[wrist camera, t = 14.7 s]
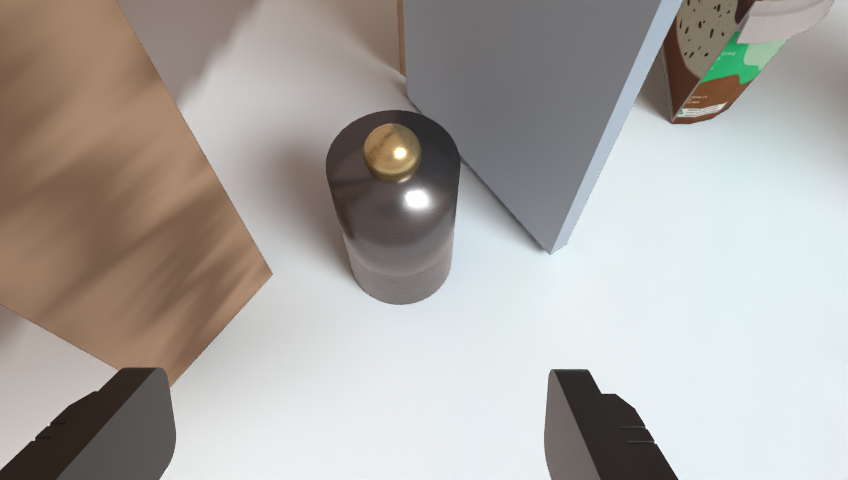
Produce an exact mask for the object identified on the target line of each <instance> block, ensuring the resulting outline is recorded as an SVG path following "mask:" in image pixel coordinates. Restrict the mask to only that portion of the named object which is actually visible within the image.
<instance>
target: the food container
mask: <svg viewBox="0 0 848 480" xmlns="http://www.w3.org/2000/svg"><path fill="white" fill-rule="evenodd" d="M833 2H834V0H683V1H682V3H681V5H680V7H679V10H678V12H677V14H676V16H675V18H674V20H673V22H672V24H671V26H670V28H669V30H668V33H667V35H666V37H665V39H664V41H663V43H662V45H661V54H662V61H663V68H664V75H665V82H666V89H667V97H668V104H669V111H670V118H671V124H692V123H696V122H701V121H705V120H709V119H712V118H714V117H715V116H717V115H719V114H720V113H722V112H724V111H725V110H727V109H728V108H729V107H730V106H731V105H732V104H733V102H734V101H735V100H736V99H737V98H738V97H739V95H740V94H741V93H742V92H743V91H744V90H745V89H746V87H747V86H748V85H749V84H750V83H751V82H752V80H753V79H754V78H755V77H756V76H757V75H758V73H759V72H760V71H761V70H762V69H763V68H764V67H765V65H766V64H767V63H768V62H769V61H770V60H771V58H772V57H773V56H774V55H775V54H776V53H777V52H778V50H779V49H780V48H781V47H782V46H783V45H784V43H785V42H786V41H787V40H788V39H789V38H790V37H793V36H795V35H797V34H800V33H802V32H805V31H806V30H808V29H810V28H811V27H813V26H814V25H816V24H817V23H818V22H819V21H820V20H821V19H822V18H823V17H824V16H825V15H826V14H827V12H828V11H829V9H830V8H831V6H832V4H833Z"/></svg>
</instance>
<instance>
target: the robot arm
mask: <svg viewBox="0 0 848 480" xmlns="http://www.w3.org/2000/svg"><path fill="white" fill-rule="evenodd" d="M175 443H176V429H175V423H174V416H173V409H172V402H171V395H170V389H169V382H168V376H167V373H166V371H165V370H164V369H163V368H160V367H125V368H122V369H121V370H119V371H118V372H117V373H116V374H115V375H114V376H113V377H112V378H111V379H110V380H109V381H108V382H107V383H106V384H105V385H104V386H103V387H102V388H101V389H100V390H99V391H94V392H92V393H90V394H89V395H87V396H85V397H83V398H82V399H80V400H78V401H76V402H75V403H73V404H71V405H69V406H68V407H67V408H66V409H65V410H64V411H63V412H62V413H61V414H59V415H58V416H57V417H56V418H55V419H54V420H53V421H52V422H51V423H50V426H47V427H46V428H45V429H44V430H43V431H41V432H40V433H39V434H38V435H37V436H36V437H35V441H31V442H30V443H29V444H28V445H27V446H26V447H25V448H24V449H22V450H21V451H20V452H19V453H18V454H17V455H16V456H15V457H14V458H13V459H12V460H11V461H10V462H9V463H8V464H7V465H6V466H4V467H3V468H2V469H1V470H0V480H159V479H160V477H161V476H162V474H163V473H164V471H165V470H166V468H167V467H168V465H169V463H170V461H171V459H172V456H173V453H174V449H175ZM544 446H545V456H546V462H547V466H548V470H549V473H550V476H551V480H678V478H677V477H676V475H675V473H674V472H673V470H672V468H671V467H670V465H669V464H668V462H667V460H666V459H665V457H664V455H663V454H662V452H661V451H660V449H659V447H658V446H657V444H655V443H654V439H653V438H652V436H651V434H650V433H649V431H648V429H646V428H645V425H644V423H643V421H642V420H641V418H640V416H639V415H638V413H637V412H636V410H635V408H633V407H632V406H631V405H629V404H628V403H627V402H625V401H624V400H623V399H621V398H620V397H619V396H618V395H616V394H601V392H600V390H599V388H598V387H597V385H596V383H595V381H594V379H593V377H592V375H591V374H590V372H589V371H588V370H587V369H552V370H551V371H550V373H549V379H548V391H547V404H546V418H545V431H544Z"/></svg>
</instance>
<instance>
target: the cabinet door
mask: <svg viewBox="0 0 848 480" xmlns="http://www.w3.org/2000/svg"><path fill="white" fill-rule="evenodd" d="M682 1H683V0H403V15H404V40H405V64H406V89H407V97H408V98H409V99H410V100H411V101H412V102H413V103H414V104H415V106H416V107H417V108H418V109H419V110H420V111H421V112H422V113H423V115H424V116H426V117H428V118H430V119H432V120H433V121H435V122H437V123H438V124H439V125H441V126H442V127H443V128H444V129H445V130H446V131H447V132H448V133H449V134H450V136H451V137H452V138H453V140H454V142H455V144H456V146H457V149H458V152H459V155H460V156H461V157H462V158H463V159H464V160H465V161H466V162H467V164H468V165H469V166H470V167H471V168H472V169H473V170H474V171H475V172H476V174H477V175H478V176H479V177H480V178H481V179H482V180H483V181H484V182H485V184H486V185H487V186H488V187H489V188H490V189H491V190H492V191H493V193H494V194H495V195H496V196H497V197H498V198H499V199H500V200H501V201H502V203H503V204H504V205H505V206H506V207H507V208H508V209H509V210H510V211H511V213H512V214H513V215H514V216H515V217H516V218H517V219H518V220H519V221H520V223H521V224H522V225H523V226H524V227H525V228H526V229H527V230H528V232H529V233H530V234H531V235H532V236H533V237H534V238H535V239H536V240H537V242H538V243H539V244H540V245H541V246H542V247H543V248H544V249H545V250H546V252H547V253H548V254H549V255H551V254H553V253H554V252H555V251H557V250H558V249H560V248H561V247H563V246H564V245H566V244H567V242H568V240H569V238H570V235H571V233H572V231H573V229H574V227H575V225H576V223H577V221H578V219H579V217H580V215H581V212H582V210H583V208H584V206H585V204H586V202H587V200H588V198H589V196H590V194H591V192H592V189H593V187H594V185H595V183H596V181H597V179H598V177H599V175H600V173H601V171H602V169H603V166H604V164H605V162H606V160H607V158H608V156H609V154H610V152H611V150H612V148H613V145H614V143H615V141H616V139H617V137H618V135H619V133H620V131H621V129H622V127H623V125H624V122H625V120H626V118H627V116H628V114H629V112H630V110H631V108H632V106H633V104H634V102H635V99H636V97H637V95H638V93H639V91H640V89H641V87H642V85H643V83H644V81H645V79H646V76H647V74H648V72H649V70H650V68H651V66H652V64H653V62H654V60H655V58H656V56H657V53H658V51H659V49H660V47H661V45H662V43H663V41H664V39H665V37H666V35H667V33H668V30H669V28H670V26H671V24H672V22H673V20H674V18H675V16H676V14H677V12H678V10H679V7H680V5H681V3H682Z"/></svg>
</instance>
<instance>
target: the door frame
mask: <svg viewBox="0 0 848 480" xmlns="http://www.w3.org/2000/svg"><path fill="white" fill-rule="evenodd" d="M397 8H398V27H399V47H400V66H401V74H403V75H405V76H406V64H405V40H404V15H403V0H397ZM272 275H273V274H272V272H271V270H270V268H269V267H268V265H267V263H266V261H265V260H264V258H263V256H262V254H261V253H260V251H259V249H258V247H257V246H256V244H255V242H254V240H253V239H252V237H251V235H250V233H249V232H248V230H247V228H246V226H245V225H244V223H243V221H242V219H241V218H240V216H239V214H238V212H237V211H236V209H235V207H234V205H233V204H232V202H231V200H230V198H229V197H228V195H227V193H226V191H225V190H224V188H223V186H222V184H221V183H220V181H219V179H218V177H217V176H216V174H215V172H214V170H213V169H212V167H211V165H210V163H209V162H208V160H207V158H206V156H205V155H204V153H203V151H202V149H201V148H200V146H199V144H198V142H197V141H196V139H195V137H194V135H193V134H192V132H191V130H190V128H189V127H188V125H187V123H186V121H185V120H184V118H183V116H182V114H181V113H180V111H179V109H178V107H177V106H176V104H175V102H174V100H173V98H172V97H171V95H170V93H169V91H168V90H167V88H166V86H165V85H164V83H163V81H162V79H161V77H160V76H159V74H158V72H157V70H156V69H155V67H154V65H153V64H152V62H151V60H150V58H149V56H148V55H147V53H146V51H145V50H144V48H143V46H142V44H141V42H140V41H139V39H138V37H137V35H136V34H135V32H134V31H133V28H132V27H131V25H130V23H129V21H128V20H127V18H126V16H125V14H124V13H123V11H122V9H121V8H120V6H119V4H118V2H117V1H116V0H0V304H1V305H2V306H4V307H6V308H8V309H10V310H11V311H13V312H15V313H17V314H19V315H20V316H22V317H24V318H26V319H28V320H29V321H31V322H33V323H35V324H37V325H38V326H40V327H42V328H44V329H46V330H47V331H49V332H51V333H53V334H55V335H56V336H58V337H60V338H62V339H64V340H65V341H67V342H69V343H71V344H73V345H74V346H76V347H78V348H80V349H81V350H83V351H85V352H87V353H89V354H90V355H92V356H94V357H96V358H98V359H99V360H101V361H103V362H105V363H107V364H108V365H110V366H112V367H114V368H116V369H117V370H121V369H122V368H125V367H160V368H163V369H164V370H165V371H166V373H167V376H168V382H169V388H170V387H171V386H172V385H173V384H174V382H175V381H176V380H177V379H178V378H179V377H180V376H181V375H182V374H183V373H184V371H185V370H186V369H187V368H188V367H189V366H190V365H191V364H192V363H193V362H194V360H195V359H196V358H197V357H198V356H199V355H200V354H201V353H202V352H203V351H204V349H205V348H206V347H207V346H208V345H209V344H210V343H211V342H212V341H213V340H214V338H215V337H216V336H217V335H218V334H219V333H220V332H221V331H222V330H223V329H224V327H225V326H226V325H227V324H228V323H229V322H230V321H231V320H232V319H233V318H234V316H235V315H236V314H237V313H238V312H239V311H240V310H241V309H242V308H243V307H244V305H245V304H246V303H247V302H248V301H249V300H250V299H251V298H252V297H253V296H254V294H255V293H256V292H257V291H258V290H259V289H260V288H261V287H262V286H263V285H264V283H265V282H266V281H267V280H268V279H269V278H270V277H271V276H272Z"/></svg>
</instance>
